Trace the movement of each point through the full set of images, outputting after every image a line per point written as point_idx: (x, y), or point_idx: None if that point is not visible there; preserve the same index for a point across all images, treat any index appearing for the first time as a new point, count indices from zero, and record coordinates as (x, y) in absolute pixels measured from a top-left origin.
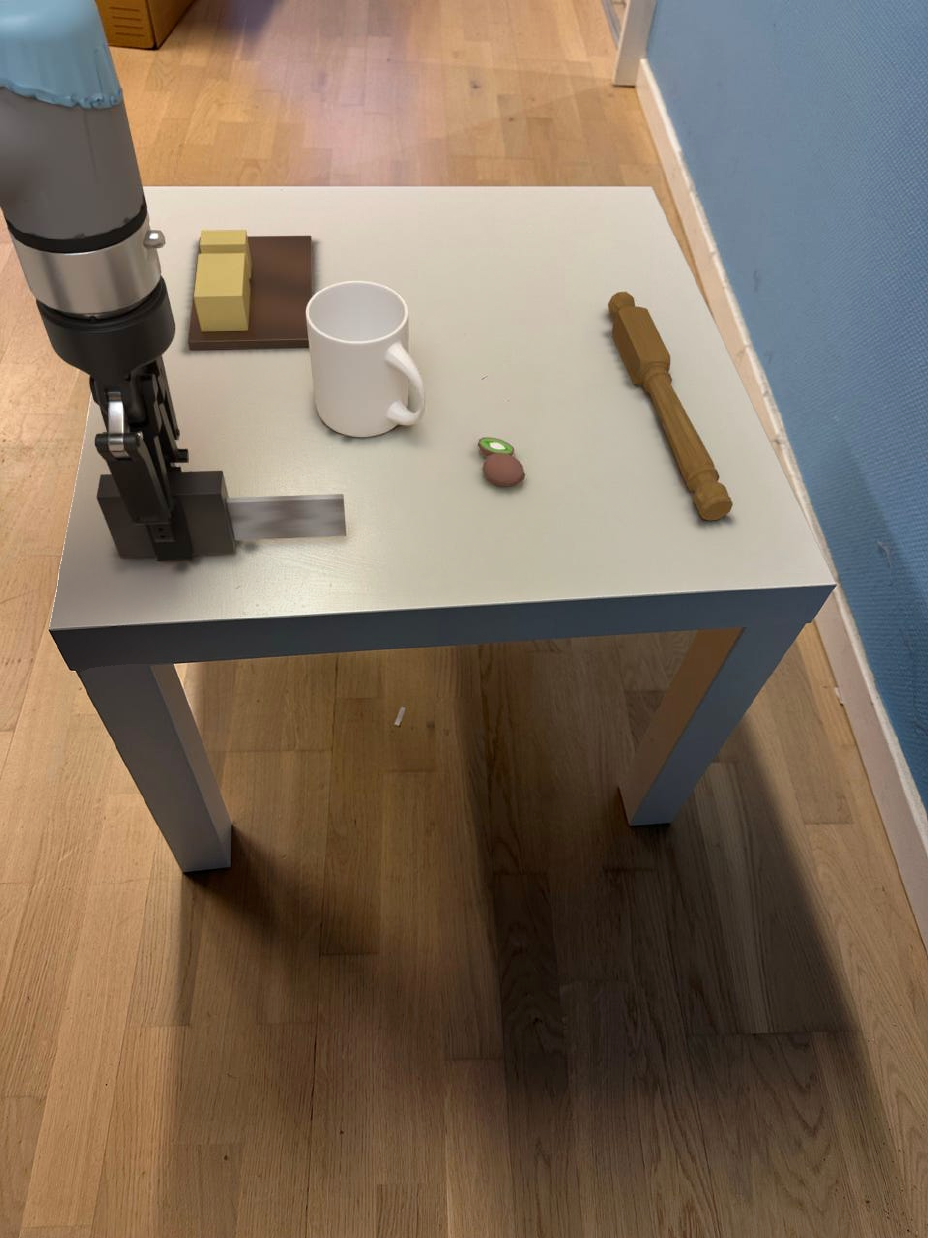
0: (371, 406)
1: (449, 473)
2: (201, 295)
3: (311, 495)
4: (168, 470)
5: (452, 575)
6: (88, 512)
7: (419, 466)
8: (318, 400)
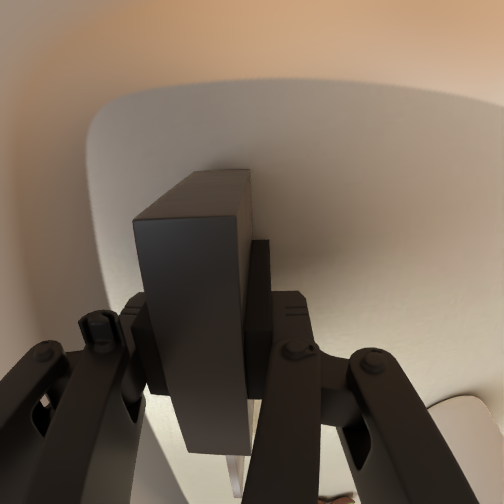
0: None
1: (327, 483)
2: None
3: (238, 482)
4: (258, 381)
5: (202, 480)
6: (325, 91)
7: (343, 470)
8: (449, 426)
